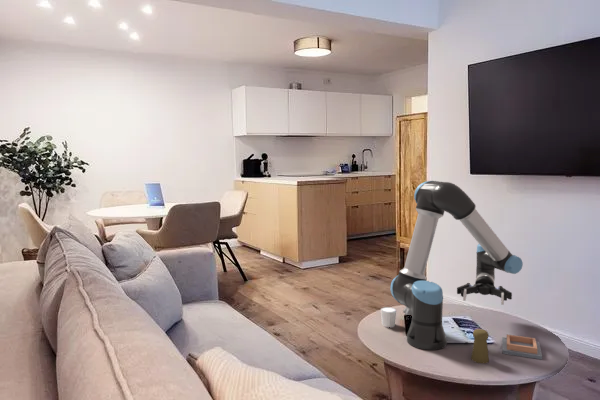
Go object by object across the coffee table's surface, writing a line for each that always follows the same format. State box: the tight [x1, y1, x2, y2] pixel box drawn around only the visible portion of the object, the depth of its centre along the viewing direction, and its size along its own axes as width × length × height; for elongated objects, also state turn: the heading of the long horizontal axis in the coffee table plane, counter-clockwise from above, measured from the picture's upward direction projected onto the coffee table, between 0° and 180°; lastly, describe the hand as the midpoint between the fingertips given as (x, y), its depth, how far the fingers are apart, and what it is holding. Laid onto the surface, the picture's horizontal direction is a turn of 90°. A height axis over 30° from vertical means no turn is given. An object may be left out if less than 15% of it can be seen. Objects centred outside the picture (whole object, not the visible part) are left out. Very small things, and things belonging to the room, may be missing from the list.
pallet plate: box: [501, 334, 543, 360], centre depth 167 cm, size 13×13×3 cm
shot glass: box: [380, 306, 397, 328], centre depth 192 cm, size 7×7×7 cm
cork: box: [470, 328, 490, 364], centre depth 158 cm, size 6×6×11 cm
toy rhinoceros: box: [402, 306, 412, 316], centre depth 201 cm, size 7×12×8 cm, turn 89°
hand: (483, 299), depth 168 cm, fingers open, 13 cm apart
